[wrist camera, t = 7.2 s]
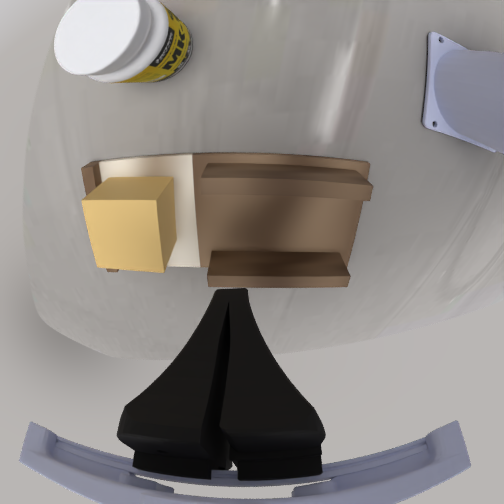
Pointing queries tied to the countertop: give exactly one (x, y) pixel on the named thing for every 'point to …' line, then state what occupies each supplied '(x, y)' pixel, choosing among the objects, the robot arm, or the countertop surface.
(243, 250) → the walnut chute
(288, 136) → the countertop surface
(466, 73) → the robot arm
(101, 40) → the supplement bottle
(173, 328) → the countertop surface
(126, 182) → the ochre block
